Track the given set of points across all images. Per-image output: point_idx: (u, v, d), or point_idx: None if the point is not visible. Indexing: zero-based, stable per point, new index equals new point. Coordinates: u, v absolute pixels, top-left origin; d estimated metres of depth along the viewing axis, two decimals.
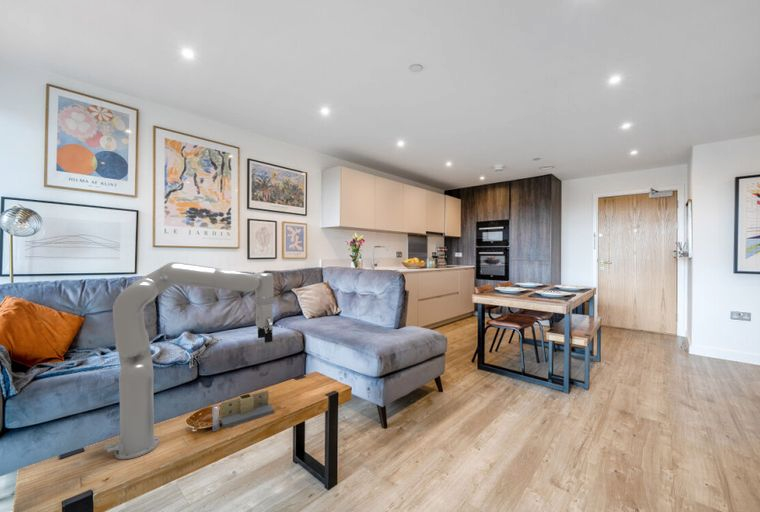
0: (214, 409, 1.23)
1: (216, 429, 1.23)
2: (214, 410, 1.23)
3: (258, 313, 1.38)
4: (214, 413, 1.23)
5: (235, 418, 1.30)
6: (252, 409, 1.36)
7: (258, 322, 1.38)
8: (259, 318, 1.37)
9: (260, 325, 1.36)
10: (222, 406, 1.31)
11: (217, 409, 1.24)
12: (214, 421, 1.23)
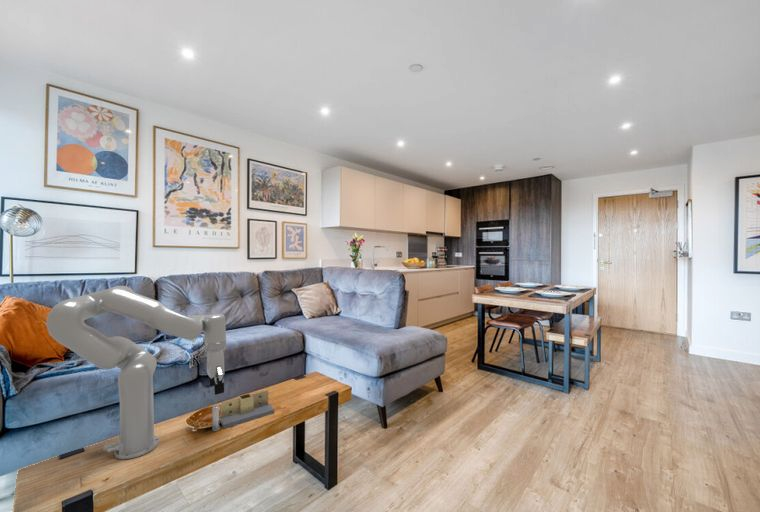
0: (214, 409, 1.23)
1: (216, 429, 1.23)
2: (214, 410, 1.23)
3: (208, 360, 1.23)
4: (214, 413, 1.23)
5: (235, 418, 1.30)
6: (252, 409, 1.36)
7: (208, 370, 1.23)
8: (209, 366, 1.22)
9: (209, 375, 1.21)
10: (222, 406, 1.31)
11: (217, 409, 1.24)
12: (214, 421, 1.23)
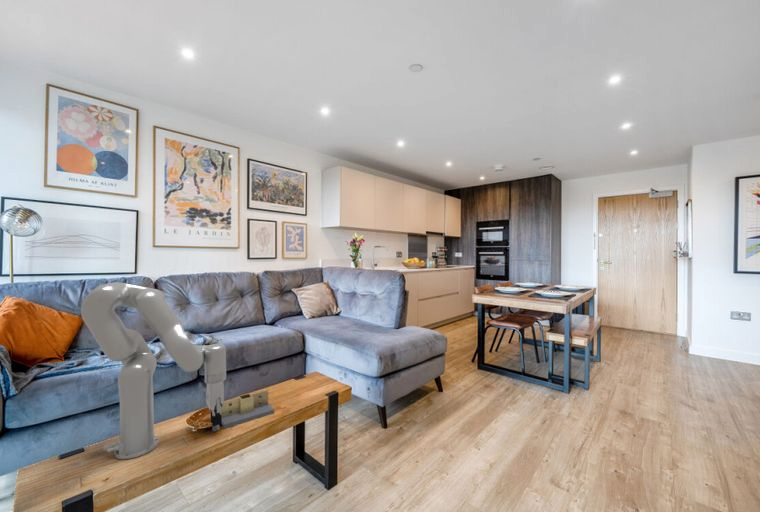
0: None
1: (216, 429, 1.24)
2: None
3: (207, 391, 1.22)
4: None
5: (235, 418, 1.30)
6: (252, 409, 1.36)
7: (207, 401, 1.23)
8: (208, 398, 1.22)
9: (209, 406, 1.20)
10: None
11: None
12: None
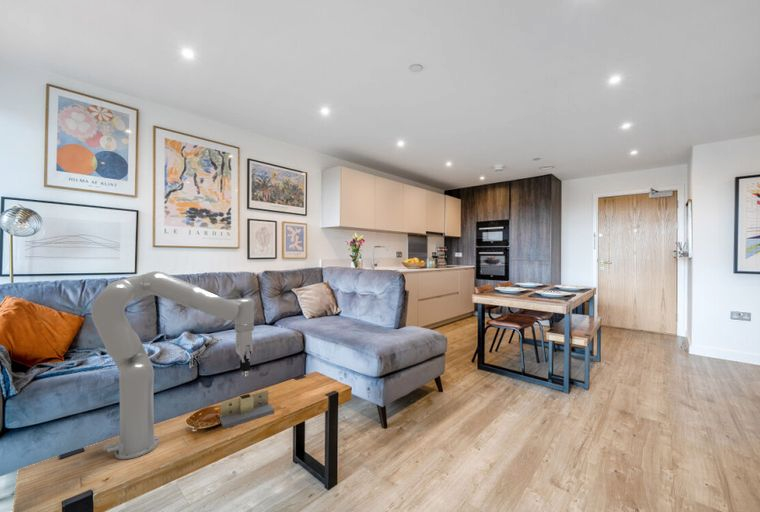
0: None
1: (245, 375, 1.36)
2: None
3: (237, 340, 1.35)
4: None
5: (235, 418, 1.30)
6: (252, 409, 1.36)
7: (237, 349, 1.35)
8: (238, 345, 1.34)
9: (239, 353, 1.33)
10: (222, 406, 1.31)
11: None
12: None
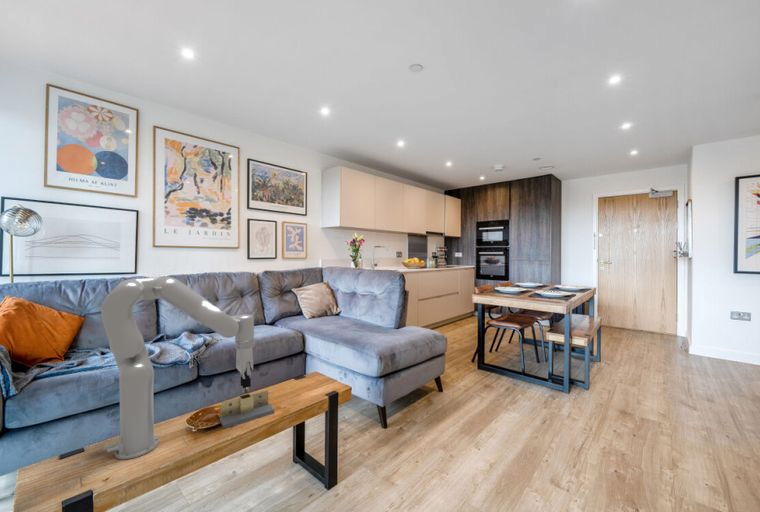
0: None
1: (246, 391, 1.36)
2: None
3: (238, 357, 1.35)
4: None
5: (235, 418, 1.30)
6: (252, 409, 1.36)
7: (238, 366, 1.35)
8: (239, 362, 1.34)
9: (240, 370, 1.33)
10: (222, 406, 1.31)
11: None
12: None
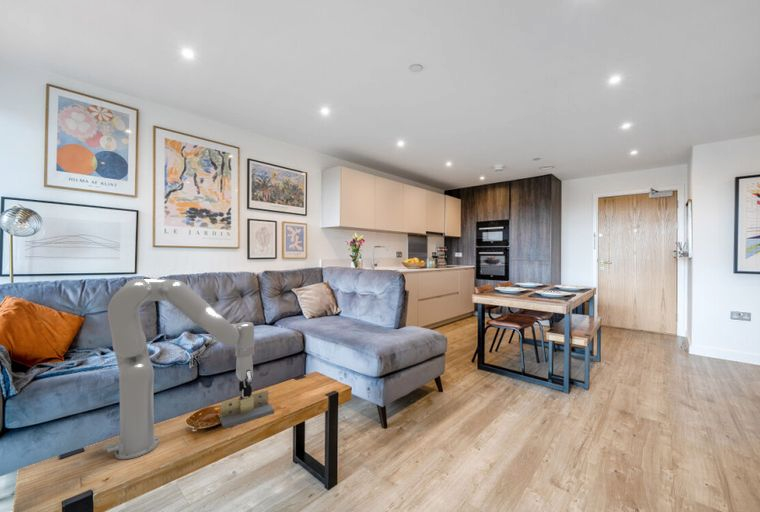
0: None
1: None
2: None
3: (238, 365, 1.35)
4: None
5: (235, 418, 1.30)
6: (252, 409, 1.36)
7: (238, 374, 1.35)
8: (239, 370, 1.34)
9: (240, 378, 1.33)
10: (222, 406, 1.31)
11: None
12: None
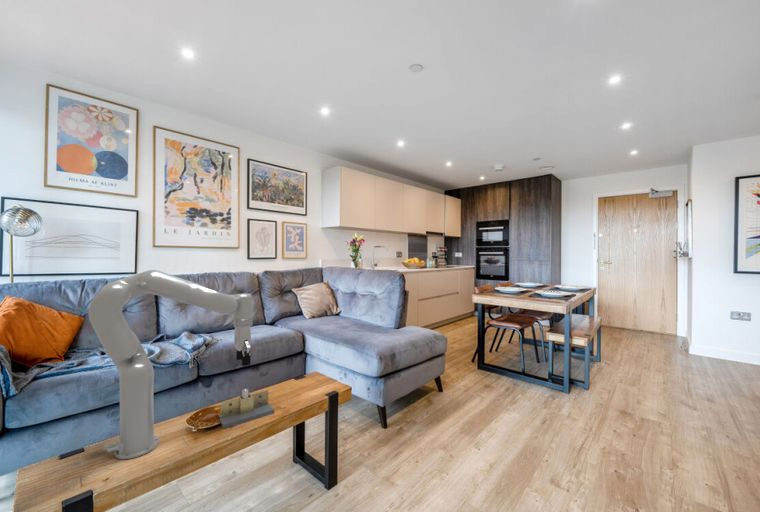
0: (244, 391, 1.36)
1: None
2: (244, 392, 1.36)
3: (236, 335, 1.35)
4: (244, 395, 1.36)
5: (235, 418, 1.30)
6: (252, 409, 1.36)
7: (236, 344, 1.35)
8: (237, 340, 1.34)
9: (238, 348, 1.33)
10: (222, 406, 1.31)
11: (246, 392, 1.36)
12: None
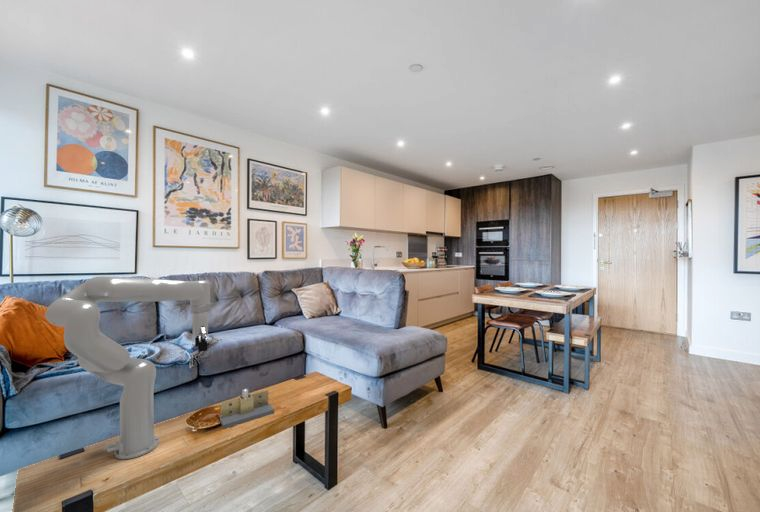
0: (244, 391, 1.36)
1: None
2: (244, 392, 1.36)
3: (193, 321, 1.35)
4: (244, 395, 1.36)
5: (235, 418, 1.30)
6: (252, 409, 1.36)
7: (193, 331, 1.35)
8: (194, 326, 1.34)
9: (194, 334, 1.33)
10: (222, 406, 1.31)
11: (246, 392, 1.36)
12: None
